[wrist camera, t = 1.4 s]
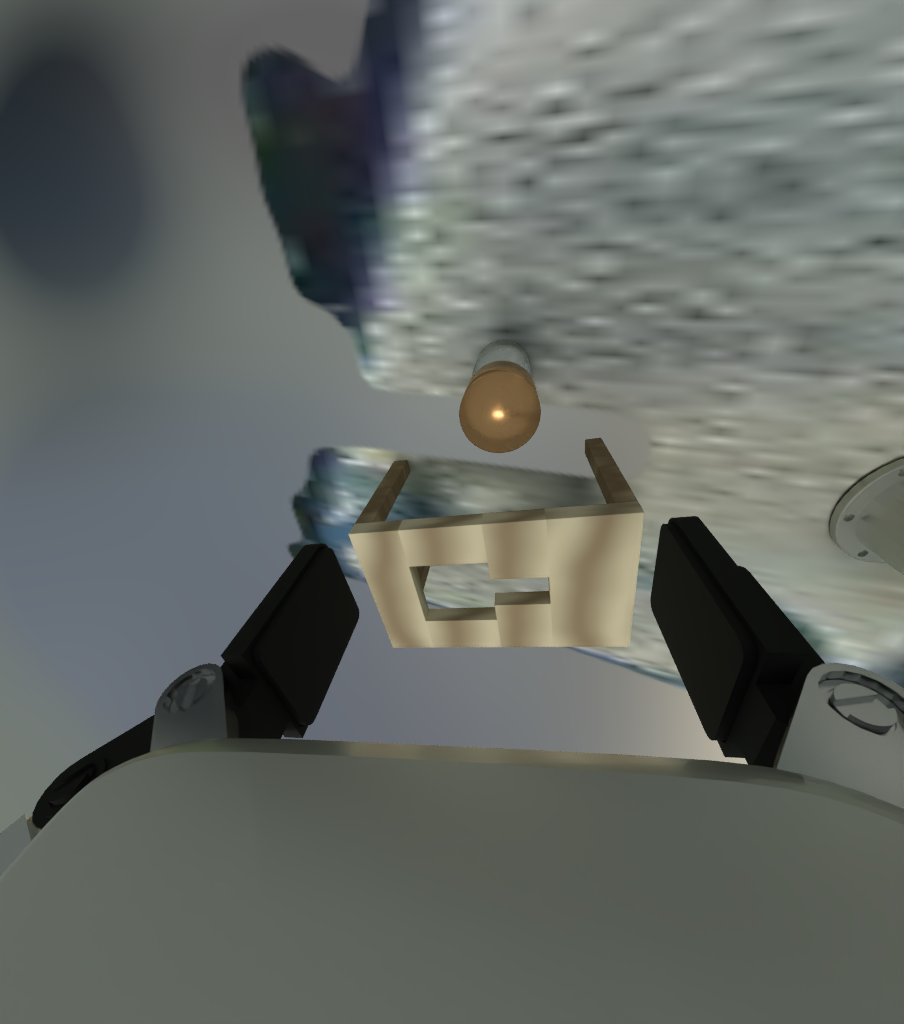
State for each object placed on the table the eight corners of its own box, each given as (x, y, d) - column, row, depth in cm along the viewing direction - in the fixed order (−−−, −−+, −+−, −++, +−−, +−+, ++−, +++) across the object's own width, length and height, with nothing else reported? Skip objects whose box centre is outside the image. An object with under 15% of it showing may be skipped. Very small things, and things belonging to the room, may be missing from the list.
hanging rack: (600, 437, 36) (644, 512, 25) (597, 548, 44) (629, 646, 32) (394, 461, 41) (348, 534, 29) (421, 558, 48) (393, 647, 36)
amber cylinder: (527, 335, 32) (538, 366, 21) (531, 392, 35) (542, 448, 23) (472, 345, 34) (453, 380, 22) (479, 399, 36) (465, 456, 24)
